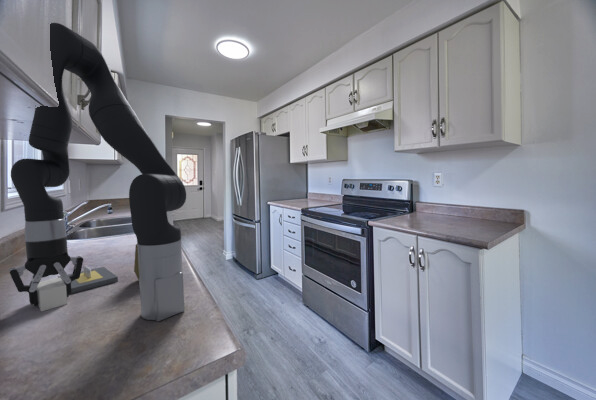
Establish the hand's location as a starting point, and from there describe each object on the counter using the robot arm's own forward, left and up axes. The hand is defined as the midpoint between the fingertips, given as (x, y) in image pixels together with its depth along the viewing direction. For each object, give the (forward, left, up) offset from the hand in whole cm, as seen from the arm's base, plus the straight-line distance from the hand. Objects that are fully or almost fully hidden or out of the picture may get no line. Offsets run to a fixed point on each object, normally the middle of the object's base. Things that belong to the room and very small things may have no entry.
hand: (51, 300), depth 66 cm
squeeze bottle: (-3, -23, -1) cm, 23 cm away
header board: (+11, -10, -1) cm, 15 cm away
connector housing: (0, 0, -1) cm, 1 cm away
